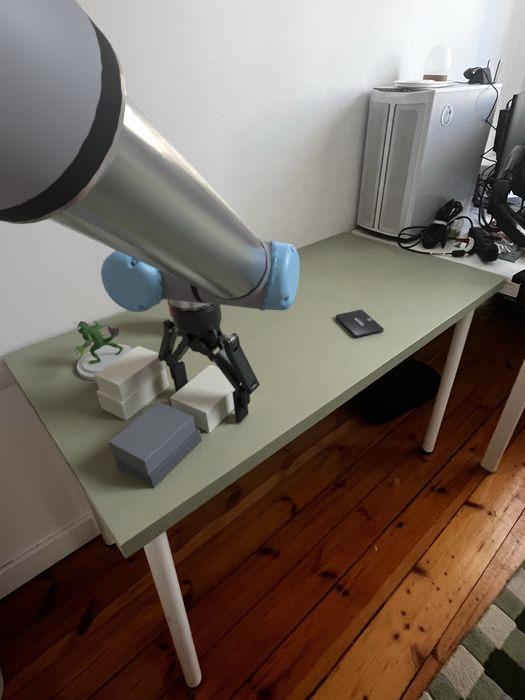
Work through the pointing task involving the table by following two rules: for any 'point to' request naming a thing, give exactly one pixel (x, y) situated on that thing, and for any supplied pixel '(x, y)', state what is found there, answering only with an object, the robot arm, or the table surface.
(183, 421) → the grey books
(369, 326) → the solid state drive
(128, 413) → the white books
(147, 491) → the table surface
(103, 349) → the monster figurine
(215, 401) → the white rectangular block
